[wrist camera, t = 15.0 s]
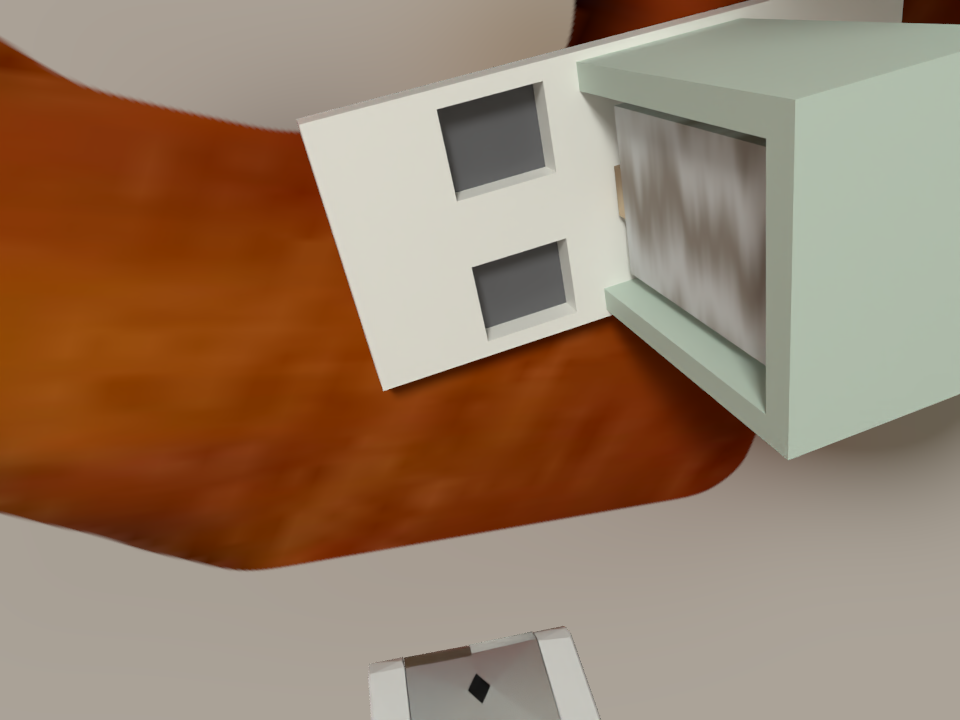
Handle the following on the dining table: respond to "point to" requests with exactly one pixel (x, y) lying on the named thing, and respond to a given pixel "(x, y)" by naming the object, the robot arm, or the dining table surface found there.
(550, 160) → the board
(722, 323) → the grey piece
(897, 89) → the tunnel
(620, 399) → the dining table surface
